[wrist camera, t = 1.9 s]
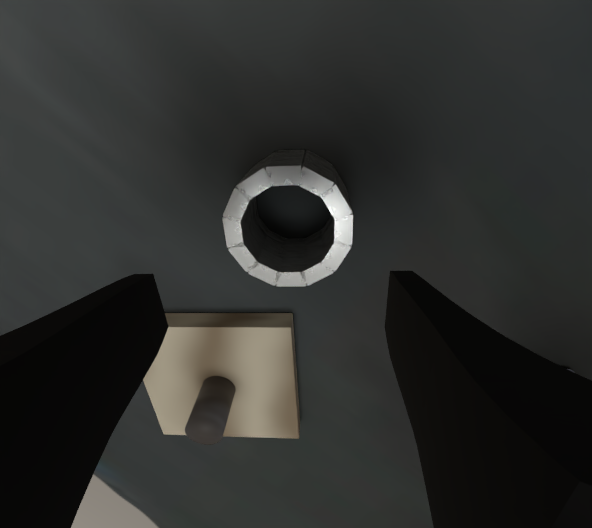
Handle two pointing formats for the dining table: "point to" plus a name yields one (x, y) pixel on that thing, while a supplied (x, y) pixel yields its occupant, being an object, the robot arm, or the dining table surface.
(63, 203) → the dining table surface
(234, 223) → the steel ring
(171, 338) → the post stand
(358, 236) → the dining table surface
